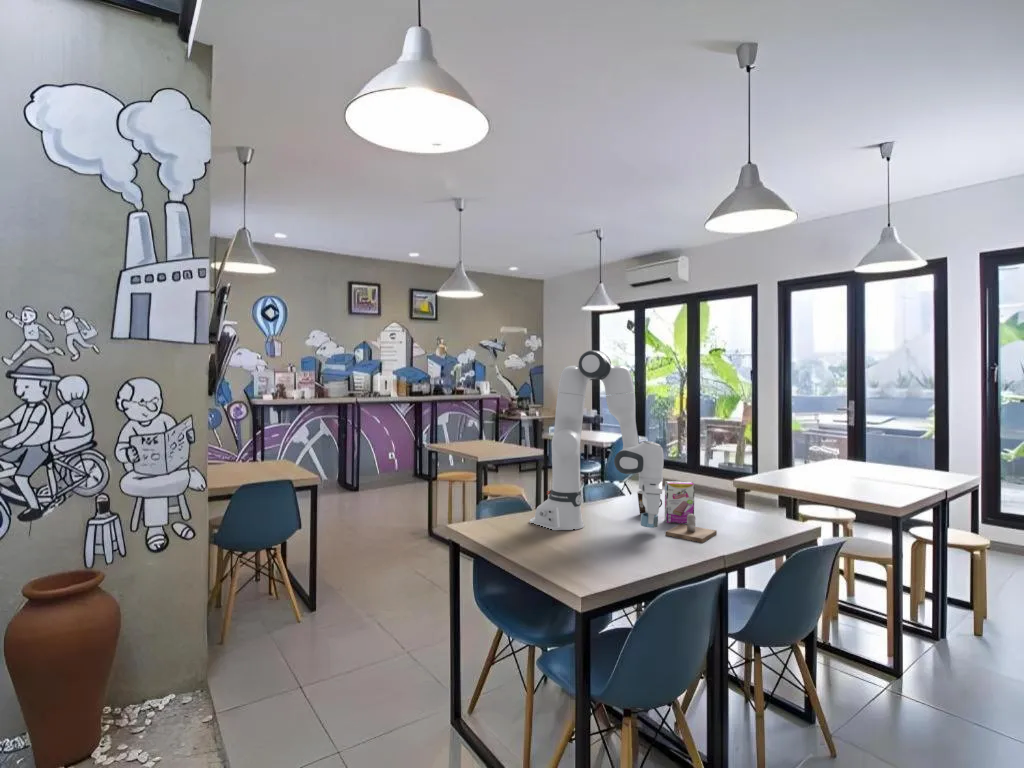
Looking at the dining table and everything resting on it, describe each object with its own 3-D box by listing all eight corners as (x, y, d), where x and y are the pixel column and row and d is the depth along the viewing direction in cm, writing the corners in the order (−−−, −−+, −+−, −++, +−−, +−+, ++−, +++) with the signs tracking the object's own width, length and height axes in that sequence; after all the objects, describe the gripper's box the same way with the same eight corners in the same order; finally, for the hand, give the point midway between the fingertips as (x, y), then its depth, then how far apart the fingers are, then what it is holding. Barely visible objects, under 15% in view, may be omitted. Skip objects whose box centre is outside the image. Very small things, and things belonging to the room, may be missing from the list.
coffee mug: (634, 513, 235) (634, 490, 235) (653, 512, 236) (653, 490, 236) (643, 519, 223) (643, 495, 223) (663, 519, 224) (663, 495, 224)
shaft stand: (665, 535, 201) (665, 514, 200) (680, 527, 211) (680, 507, 211) (702, 542, 191) (702, 520, 191) (716, 534, 202) (716, 513, 202)
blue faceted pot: (658, 528, 199) (658, 517, 199) (641, 527, 200) (642, 516, 200) (656, 523, 205) (656, 513, 205) (640, 522, 206) (640, 512, 206)
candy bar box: (666, 523, 218) (666, 483, 218) (664, 520, 223) (664, 480, 223) (694, 524, 217) (694, 483, 217) (691, 521, 222) (692, 481, 222)
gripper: (639, 479, 213) (638, 513, 213) (645, 489, 193) (643, 527, 193) (655, 480, 213) (654, 514, 213) (663, 490, 192) (661, 528, 192)
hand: (649, 521), depth 203 cm, fingers closed on blue faceted pot, 6 cm apart
